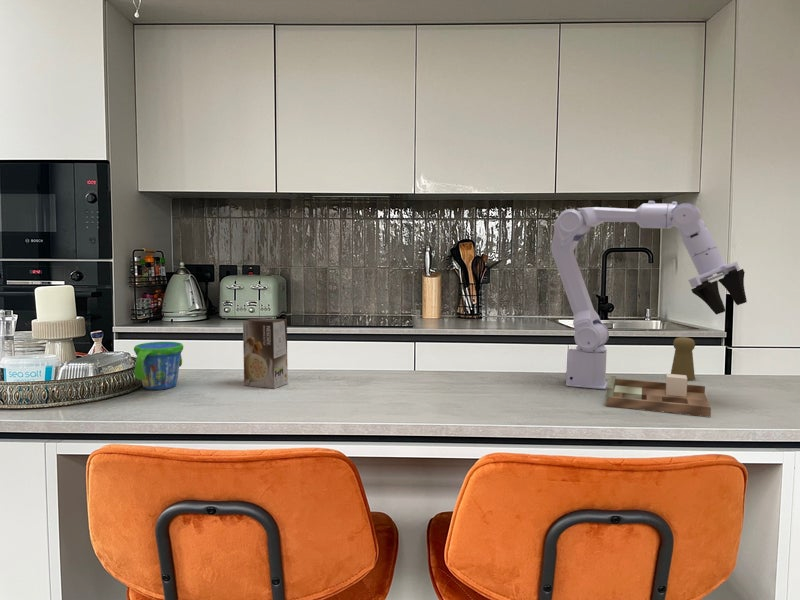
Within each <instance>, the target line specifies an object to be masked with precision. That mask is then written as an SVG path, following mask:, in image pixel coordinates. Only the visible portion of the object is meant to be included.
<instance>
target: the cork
mask: <svg viewBox="0 0 800 600" xmlns="http://www.w3.org/2000/svg"><path fill="white" fill-rule="evenodd" d="M672 344H673V347H674V349H675V350H674V354H673V355H674V356H673V360H672V364H671V365H672V366H671V370H670V374H678V375H686V376H687V382H688V381H689V382H690V381H691V382H692V381H695V380H696V376H695V367H694V356H693V354H694V353H693V350H694V349H695V346H696V343H695V340H694V339H693V338H690V337H687V336H686V337H684V336H680V337H675V338H674V340H673V343H672Z"/></svg>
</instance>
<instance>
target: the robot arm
mask: <svg viewBox="0 0 800 600" xmlns="http://www.w3.org/2000/svg"><path fill="white" fill-rule="evenodd" d="M603 223H636V224H637V225H638V226H639V227H640V228H641V229H664V230H665V229H667V230H668V229H669V230H670V229H671V228H673V227H675V228H677V229H678V230H677V231H678V232H679V235H680V236H681V240H682V243H683V246H684V247H685V249H686V251H687V253H688V255H689V258H690V259H691V261H692V263H693V265H694V268H695V269H696V272H697V273H698V276H694V277H692V278H690V279H688V282H689V284H690V287H691V289H690V290H691V292H692V294H694V295H696V296H697V297H698V298H700V300H702V301H703V302H704V303H705V304H706V305H707V306H708V307H709V308H710V310H712V312H713V313H714V314H715V315H717V316H718V315H720V314H722V313H725V312H726V308H725V304H724V302H723V300H722V297H721V294H720V290H719V283H720V284H721V285H722V286H723V287H724V288H725V289H726V291H727V292H728V293H729V295H730V297H731V298H732V301H734V304H736V306H739V305H742V304H743V305H744V304H745V303H747V302H748V301H747V296H746V291H745V281H744V280H745V270H744V268H742V269H741V268H740V266H739V264H738V262H737V261H734V262H731V263H728V264H727V263H726V262H725V260H724V258H723V256H722V254H721V251H720V250H719V248H718V246H717V244H716V242H715V240H714V238H713V236H712V234H711V232H710V230H709V228H707V226H706V223H705V222H704V220H702V214H701V210H700V209H699V208H698V207H697V206H695V205H694V204H691V203H690V202H683V203H682V202H681V203H680V204H678V202H677V201H671V203H656V201H655V200H648V202H647V203H642V204H640V206H638V207H637V208H628V207H627V208H622V207H621V208H620V207H602V206H601V207H600V206H594V207H593V206H592V207H580V208H577V210H576V209H573V208H568V209H565V210H563V211H562V212H561V213H559V215H558V217H557V218H556V220H555V221H554V223H553V235H552V239H551V240H552V241H551V246H550V250H551V251H550V252H551V254H552V258H553V260H554V263H555V266H556V269H557V271H558V274H559V278H560V280H561V283H562V285H563V288H564V292H565V294H566V297H567V300H568V303H569V305H570V308H571V312H572V314H573V320H572V321H573V322H572V325H573V327H574V328H573V329H574V336H573V337H574V342H575V344H576V345H577V346H575V347H576V348H569V349H567V355H566V356H567V357H566V371H565V386H567V387H575V388H576V387H577V388H584V389H585V388H587V389H597V390H598V389H599V390H607V386H608V383H609V381H606V374H607V373H606V372H607V353H608V352H607V350H608V349H607V347H606V346H605V344H606V343H607V342H608V340H609V337H610V332H609V329H608V327H607V326H606V325H605V324H604V323H603V322H602V320H601V317H600V315H599V313H597V312H596V310H595V309H594V306H593V302H592V300H591V297H590V295H589V292H588V287H587V286H586V283H585V280H584V278H583V275H582V271H581V269H580V266H579V264H578V261H577V257H576V256H575V249H576V248H577V246H578V243H579V242H580V241H581V239H583V238H584V237H585V236H586V235H587V234H588V233H589V232H590V231H591V228H596V227H598V226H600V224H603ZM715 274H716V275H715ZM714 275H715V276H714ZM721 277H722V278H721ZM719 278H720V279H719ZM715 279H717V280H715ZM712 280H714V281H712ZM718 282H719V283H718Z"/></svg>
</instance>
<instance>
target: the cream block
mask: <svg viewBox="0 0 800 600" xmlns="http://www.w3.org/2000/svg"><path fill="white" fill-rule="evenodd" d="M665 379H666V380H665V383H666V395H674V396H684V397H686V396H687V385H688V381H687V376H686V375H678V374H671V373H666V378H665Z"/></svg>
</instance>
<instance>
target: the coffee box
mask: <svg viewBox="0 0 800 600" xmlns="http://www.w3.org/2000/svg"><path fill="white" fill-rule="evenodd" d="M242 340H243V342H242V343H243V346H242V347H243V348H242V349H243V384H244V386H249V387H257V388H269V389H278V388H279V387H282V386H285V385H288V384H289V382H288V381H289V380H288V379H289V377H288V371H289V368H288V320H287V319H283V318H280V319H279V318H268V317H267V318H264V317H254V318H248V319H244V320H242Z"/></svg>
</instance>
